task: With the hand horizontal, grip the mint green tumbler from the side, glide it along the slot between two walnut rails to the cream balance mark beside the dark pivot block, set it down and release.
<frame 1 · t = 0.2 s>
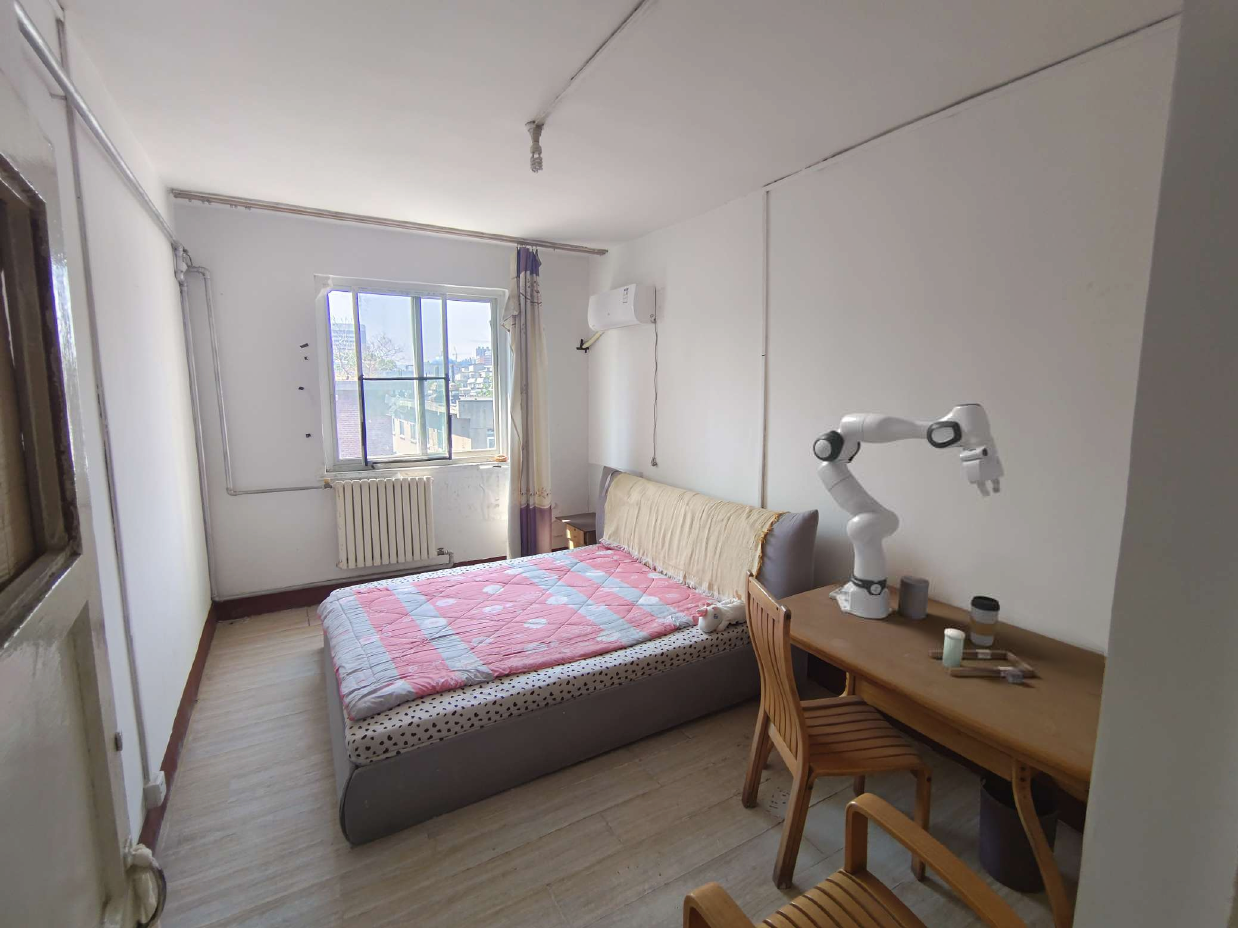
hand: (991, 494, 180), 52 cm above the table, tool tilted 20°, fingers open, 8 cm apart
pillar candle: (911, 614, 215), on the table
coffee cup: (981, 642, 192), on the table
beam slot: (979, 665, 176), on the table
mint green tumbler: (951, 665, 176), on the table
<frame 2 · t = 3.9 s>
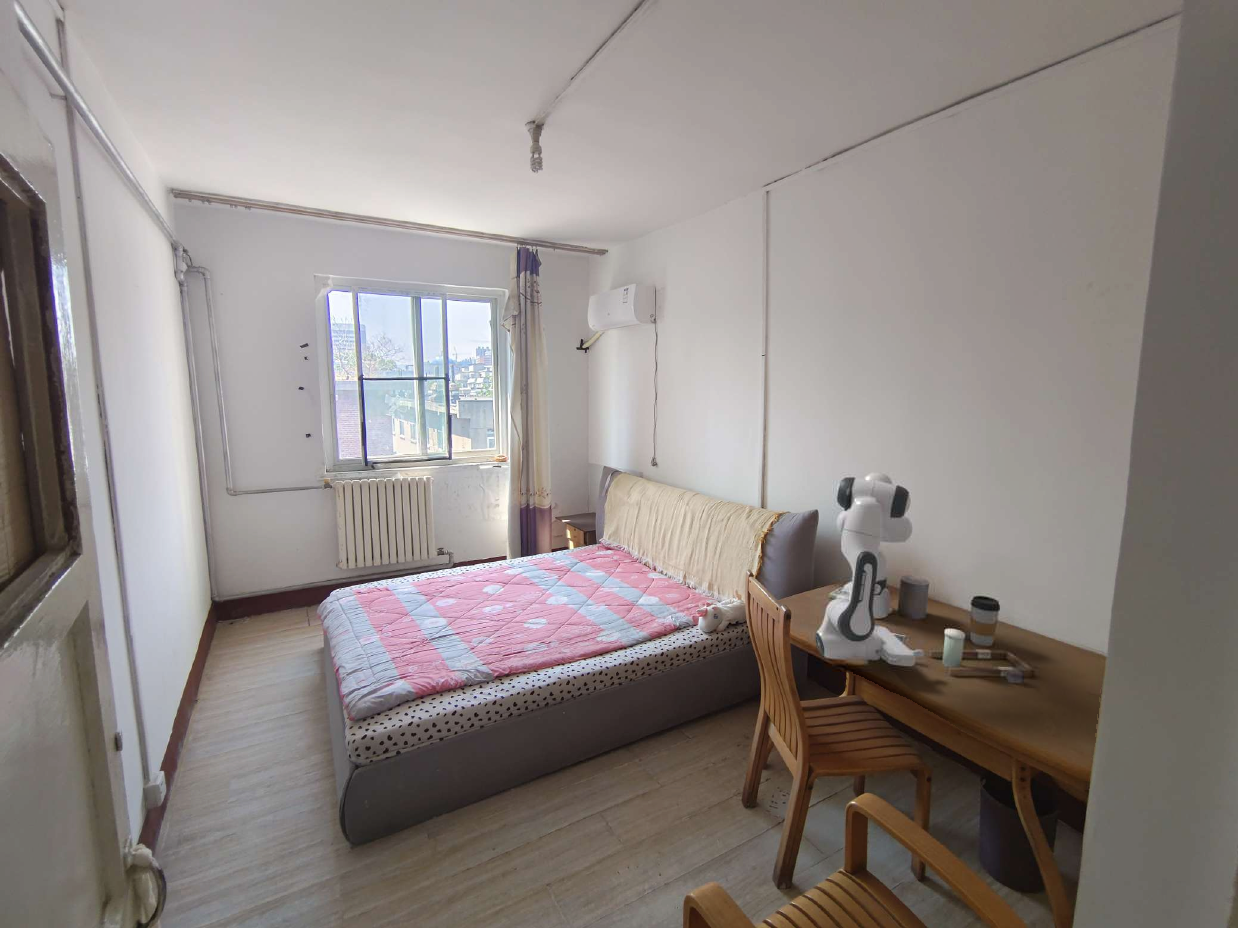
hand: (914, 645, 175), 6 cm above the table, tool horizontal, fingers open, 8 cm apart
nothing on the table moved.
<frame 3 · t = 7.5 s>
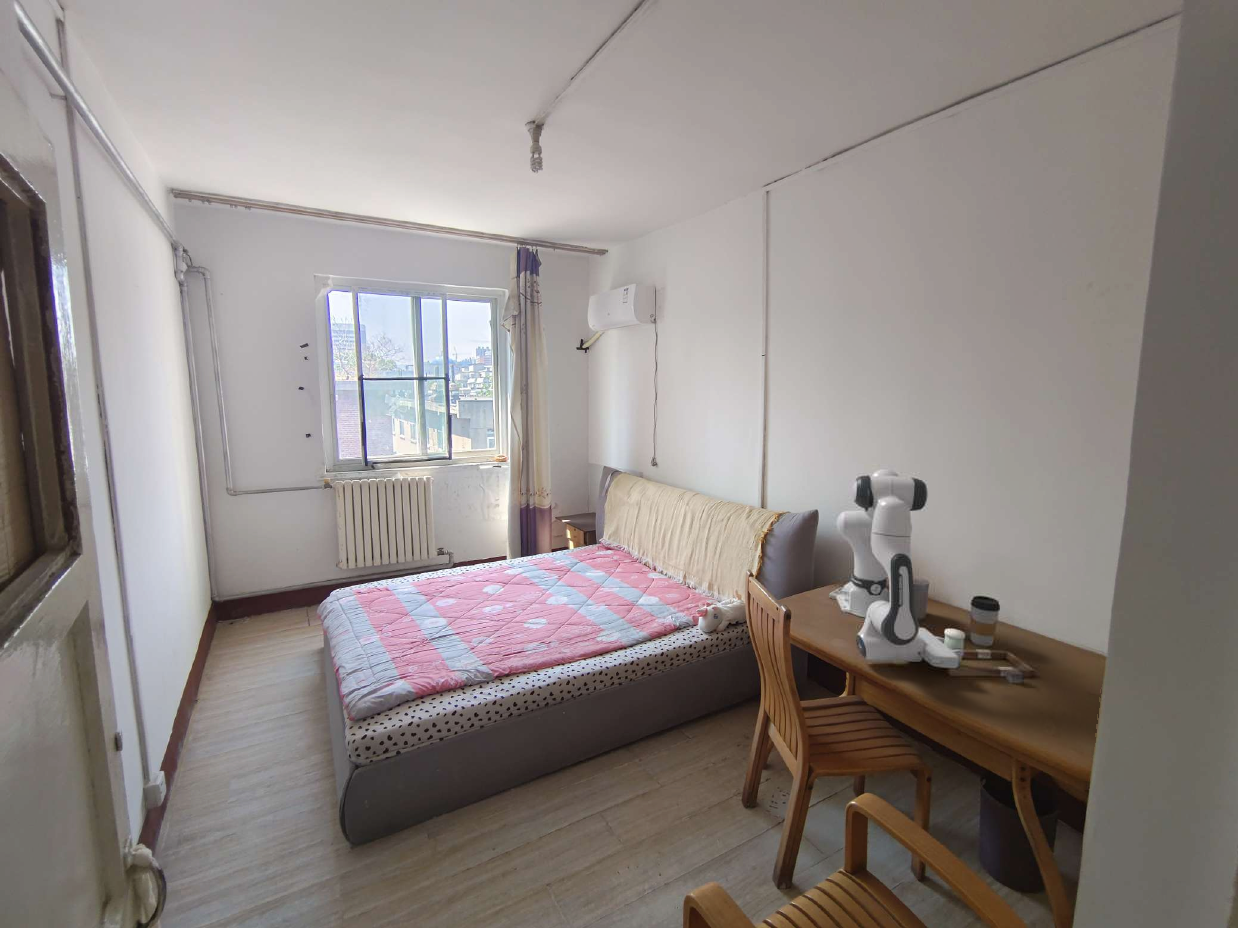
hand: (956, 646, 176), 6 cm above the table, tool horizontal, fingers closed on mint green tumbler, 5 cm apart
mint green tumbler: (951, 665, 176), on the table, touching gripper
everything else where it was.
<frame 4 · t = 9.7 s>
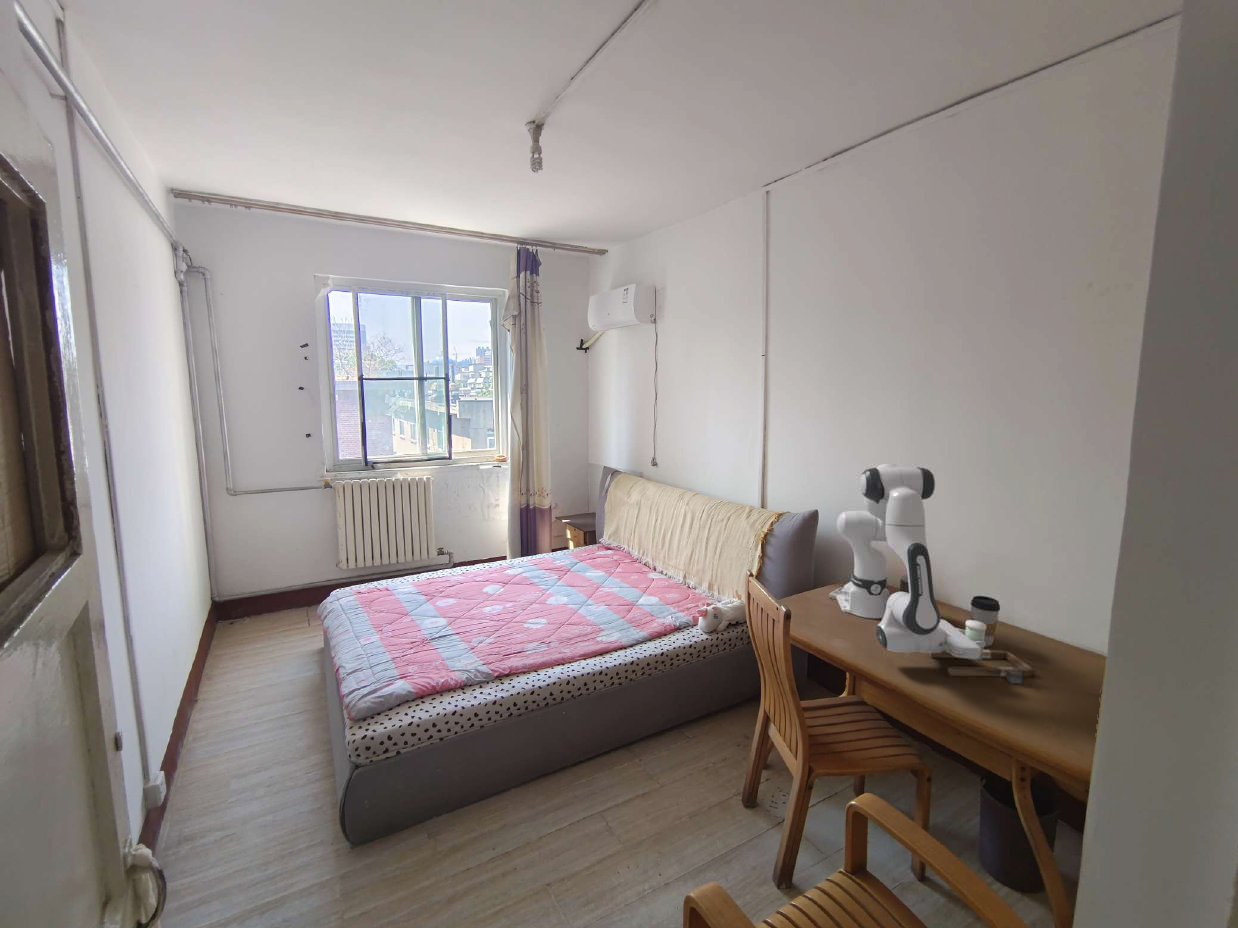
hand: (977, 638, 175), 9 cm above the table, tool horizontal, fingers closed on mint green tumbler, 5 cm apart
mint green tumbler: (972, 656, 176), point 3 cm above the table, touching gripper
everything else where it was.
when the fingers open (7 cm above the table, at t = 12.2 s): mint green tumbler stays where it is, on the table.
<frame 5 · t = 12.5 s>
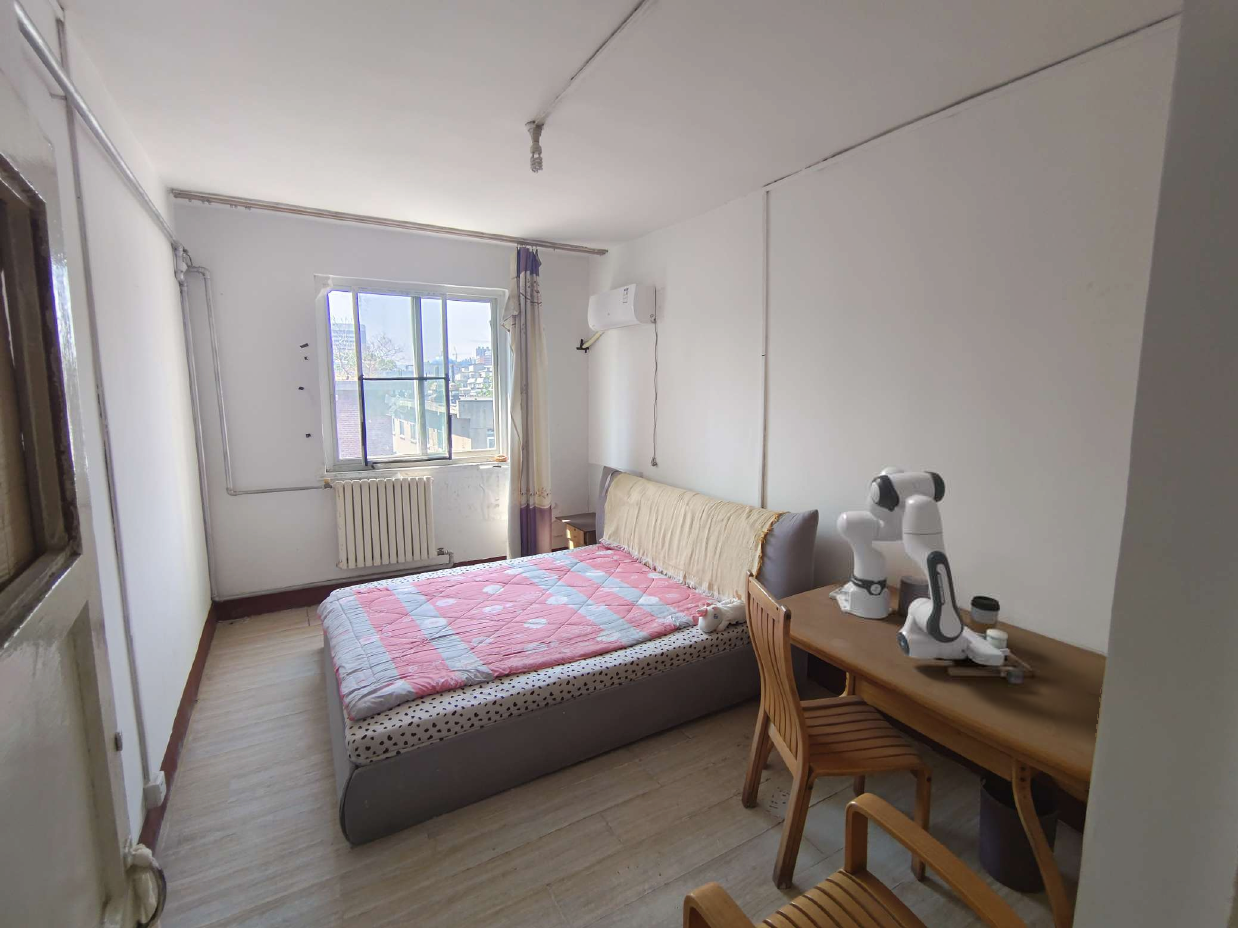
hand: (999, 644, 175), 7 cm above the table, tool horizontal, fingers open, 7 cm apart
mint green tumbler: (993, 665, 176), on the table
everything else where it was.
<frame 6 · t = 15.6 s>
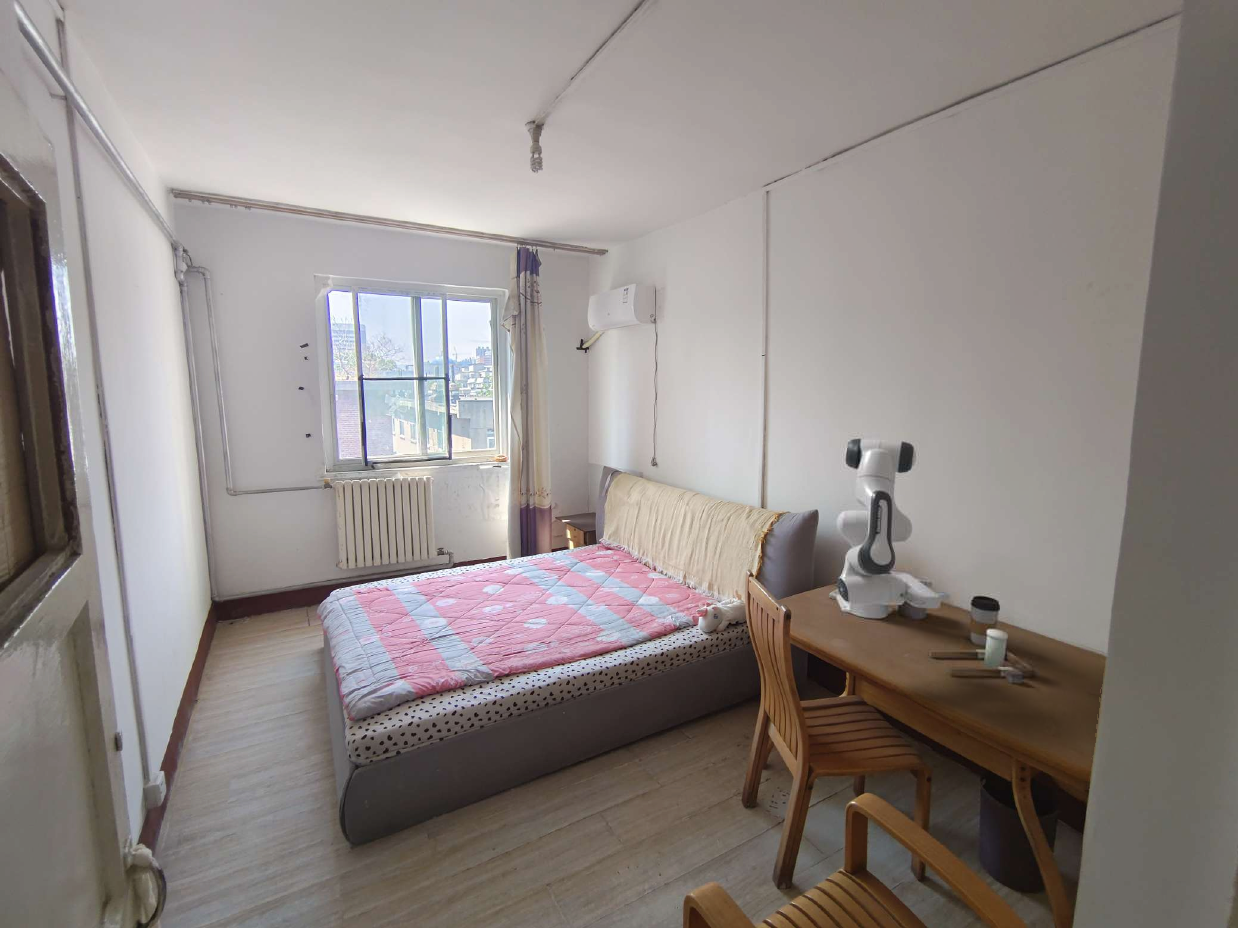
hand: (939, 590, 173), 24 cm above the table, tool horizontal, fingers open, 8 cm apart
nothing on the table moved.
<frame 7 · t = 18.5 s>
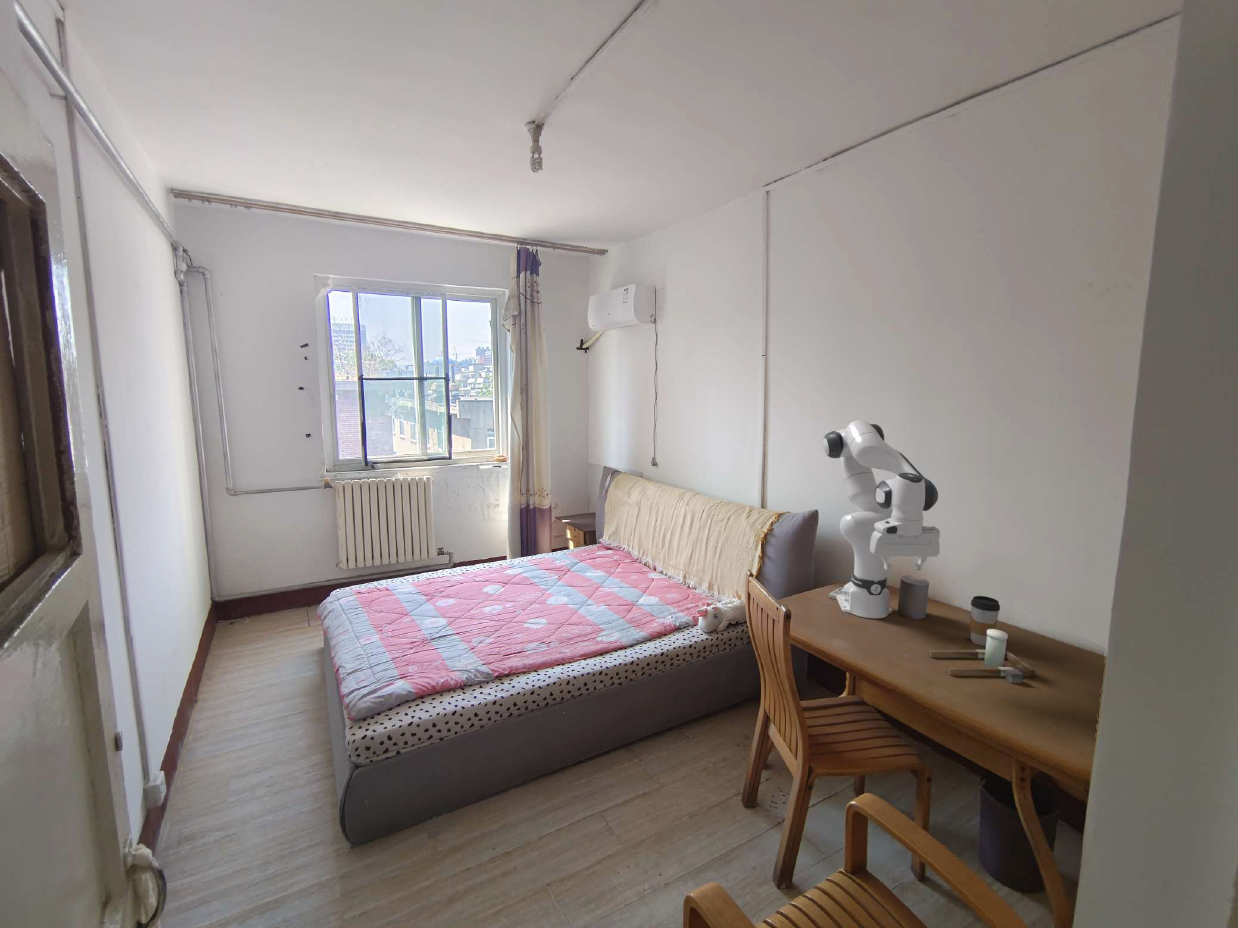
hand: (902, 569, 177), 29 cm above the table, tool pointing down, fingers open, 8 cm apart
nothing on the table moved.
at the end: mint green tumbler inside the target area (0.0 cm from its centre), on the table; mint green tumbler tilted 0°; the gripper is holding nothing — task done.
